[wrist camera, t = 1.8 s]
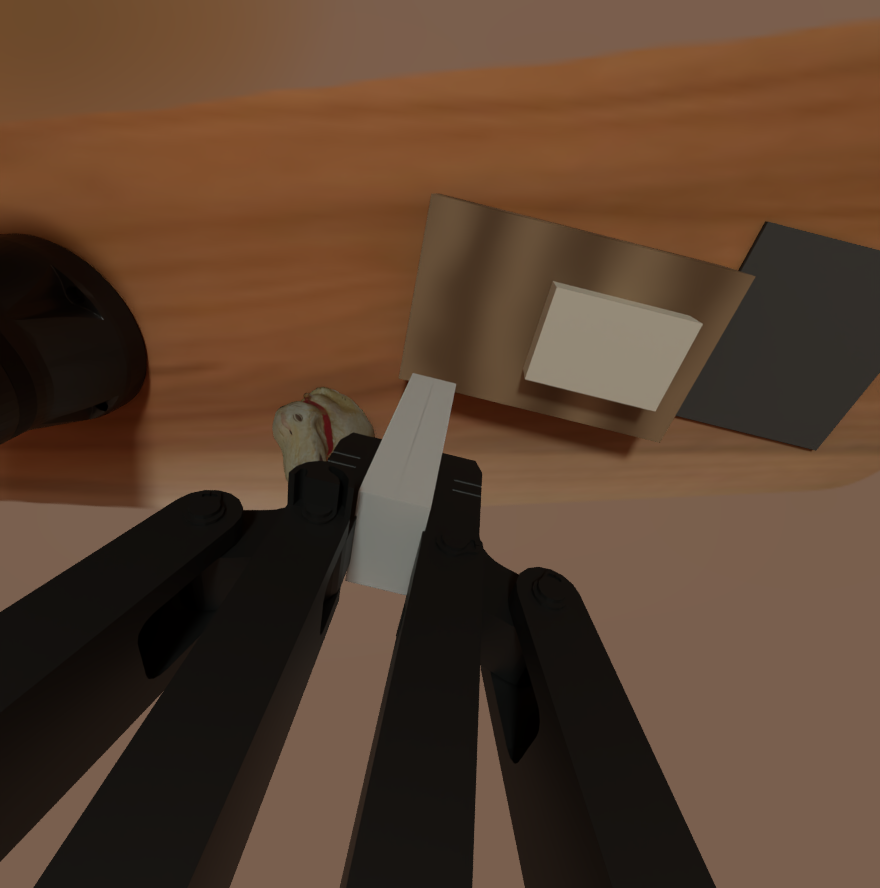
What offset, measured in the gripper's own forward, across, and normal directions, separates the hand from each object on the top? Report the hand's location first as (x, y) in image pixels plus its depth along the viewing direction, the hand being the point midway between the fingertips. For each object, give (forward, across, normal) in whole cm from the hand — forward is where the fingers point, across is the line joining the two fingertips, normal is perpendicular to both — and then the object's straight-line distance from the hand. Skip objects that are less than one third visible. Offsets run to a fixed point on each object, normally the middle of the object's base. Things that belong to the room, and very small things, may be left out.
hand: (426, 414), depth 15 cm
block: (+16, +10, 0) cm, 19 cm away
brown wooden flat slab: (+20, +7, 0) cm, 21 cm away
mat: (+20, +24, +2) cm, 31 cm away
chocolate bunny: (+20, -8, -13) cm, 25 cm away
